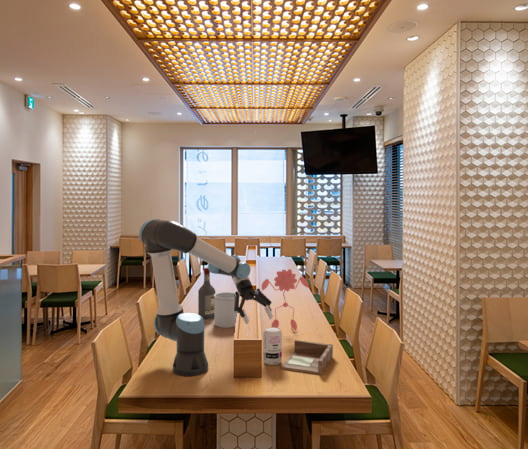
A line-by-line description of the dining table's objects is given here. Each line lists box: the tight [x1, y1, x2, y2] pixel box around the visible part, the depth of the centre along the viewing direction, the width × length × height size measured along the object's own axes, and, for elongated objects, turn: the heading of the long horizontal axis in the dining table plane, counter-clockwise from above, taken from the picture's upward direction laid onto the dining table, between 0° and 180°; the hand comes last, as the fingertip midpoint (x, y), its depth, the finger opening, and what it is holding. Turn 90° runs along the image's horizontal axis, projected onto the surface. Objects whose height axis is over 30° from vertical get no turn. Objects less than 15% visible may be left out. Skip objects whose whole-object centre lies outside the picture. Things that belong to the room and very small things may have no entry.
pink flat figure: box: [261, 268, 310, 332], centre depth 246 cm, size 15×26×35 cm, turn 94°
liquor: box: [197, 267, 216, 320], centre depth 277 cm, size 9×9×30 cm
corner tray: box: [280, 339, 334, 376], centre depth 203 cm, size 22×18×6 cm
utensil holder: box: [213, 291, 241, 329], centre depth 262 cm, size 15×15×18 cm
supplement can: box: [262, 326, 283, 366], centre depth 203 cm, size 8×8×15 cm
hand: (259, 320), depth 212 cm, fingers open, 13 cm apart
